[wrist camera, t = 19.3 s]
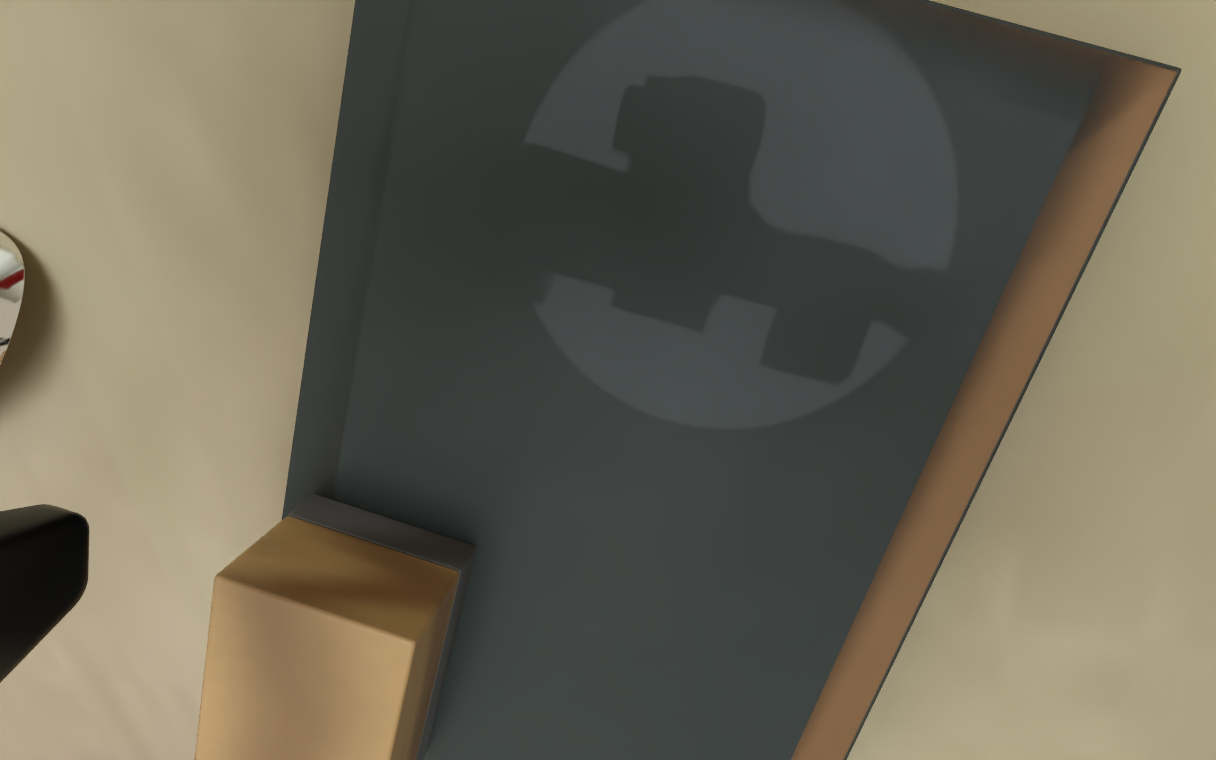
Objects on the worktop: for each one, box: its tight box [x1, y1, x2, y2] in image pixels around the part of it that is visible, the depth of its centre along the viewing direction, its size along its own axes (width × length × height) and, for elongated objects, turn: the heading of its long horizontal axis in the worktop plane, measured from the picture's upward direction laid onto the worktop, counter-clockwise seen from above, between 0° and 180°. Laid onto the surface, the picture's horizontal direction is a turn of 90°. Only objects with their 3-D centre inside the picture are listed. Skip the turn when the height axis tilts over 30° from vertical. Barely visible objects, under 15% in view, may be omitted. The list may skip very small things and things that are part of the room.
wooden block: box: [195, 494, 476, 760], centre depth 18 cm, size 4×7×4 cm, turn 165°
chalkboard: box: [282, 0, 1181, 760], centre depth 18 cm, size 16×24×1 cm, turn 165°
